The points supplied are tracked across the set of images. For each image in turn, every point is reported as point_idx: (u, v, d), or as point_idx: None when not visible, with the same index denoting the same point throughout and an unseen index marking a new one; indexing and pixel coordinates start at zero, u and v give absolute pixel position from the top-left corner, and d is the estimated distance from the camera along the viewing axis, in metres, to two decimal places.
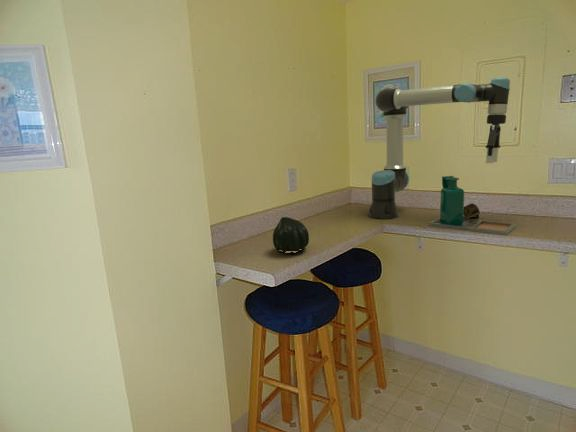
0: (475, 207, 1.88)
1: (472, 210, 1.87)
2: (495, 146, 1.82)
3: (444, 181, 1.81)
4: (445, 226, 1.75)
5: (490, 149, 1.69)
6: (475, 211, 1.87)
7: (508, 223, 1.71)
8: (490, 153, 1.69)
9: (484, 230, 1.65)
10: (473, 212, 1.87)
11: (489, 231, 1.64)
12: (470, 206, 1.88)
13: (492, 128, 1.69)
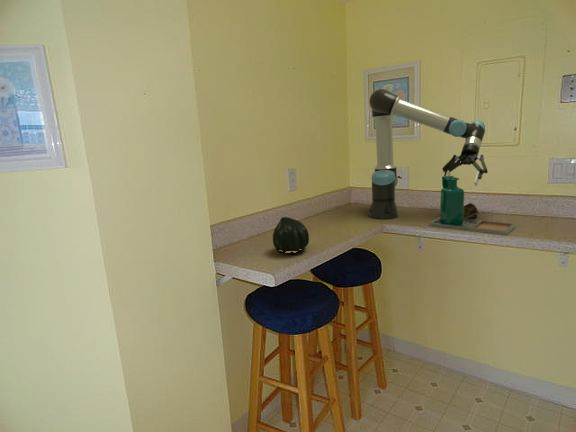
0: (473, 207, 1.88)
1: (471, 210, 1.87)
2: (448, 171, 1.90)
3: (444, 181, 1.81)
4: (445, 226, 1.75)
5: (482, 173, 1.80)
6: (473, 211, 1.88)
7: (508, 223, 1.71)
8: (481, 177, 1.79)
9: (484, 230, 1.65)
10: (472, 212, 1.87)
11: (489, 231, 1.64)
12: (468, 206, 1.88)
13: (483, 158, 1.83)
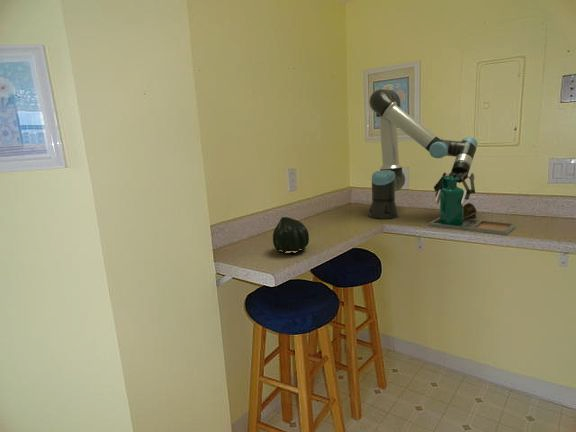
0: (472, 207, 1.88)
1: (469, 210, 1.88)
2: (440, 190, 1.84)
3: (444, 181, 1.81)
4: (445, 226, 1.75)
5: (469, 194, 1.75)
6: (472, 211, 1.88)
7: (508, 223, 1.71)
8: (468, 197, 1.74)
9: (484, 230, 1.65)
10: (470, 212, 1.88)
11: (489, 231, 1.64)
12: (467, 206, 1.89)
13: (473, 177, 1.78)
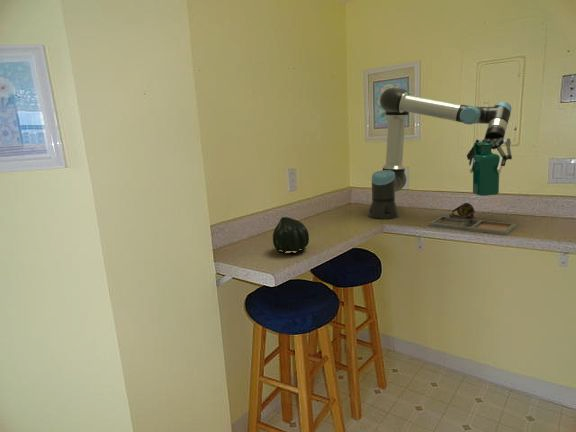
0: (470, 206, 1.89)
1: (468, 209, 1.89)
2: None
3: (476, 148, 1.69)
4: (445, 226, 1.75)
5: (505, 160, 1.62)
6: (470, 210, 1.89)
7: (508, 223, 1.71)
8: None
9: (484, 230, 1.65)
10: (469, 211, 1.89)
11: (489, 231, 1.64)
12: (465, 205, 1.90)
13: (509, 142, 1.66)
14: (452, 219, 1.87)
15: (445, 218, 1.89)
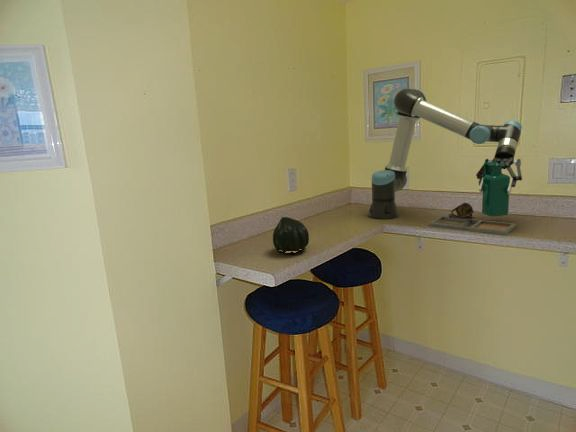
0: (469, 206, 1.90)
1: (467, 209, 1.89)
2: None
3: (486, 167, 1.68)
4: (445, 226, 1.75)
5: None
6: (469, 210, 1.90)
7: (508, 223, 1.71)
8: (515, 184, 1.61)
9: (484, 230, 1.65)
10: (468, 211, 1.89)
11: (489, 231, 1.64)
12: (464, 205, 1.90)
13: (520, 163, 1.65)
14: (452, 219, 1.87)
15: (445, 218, 1.89)
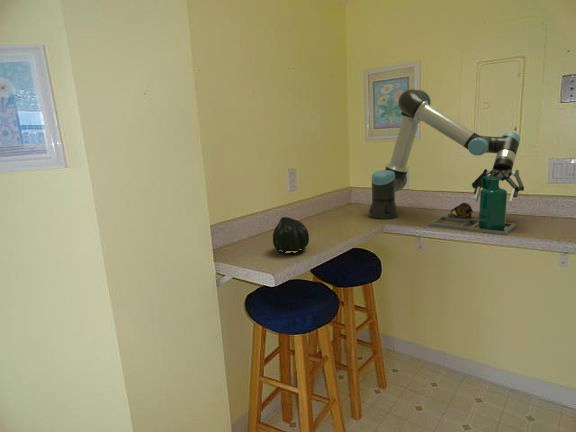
0: (468, 206, 1.90)
1: (466, 209, 1.89)
2: (478, 187, 1.73)
3: (484, 181, 1.70)
4: (445, 226, 1.75)
5: (518, 191, 1.62)
6: (469, 210, 1.90)
7: (508, 223, 1.71)
8: None
9: (484, 230, 1.65)
10: (467, 211, 1.89)
11: (489, 231, 1.64)
12: (464, 205, 1.90)
13: (518, 173, 1.66)
14: (452, 219, 1.87)
15: (445, 218, 1.89)
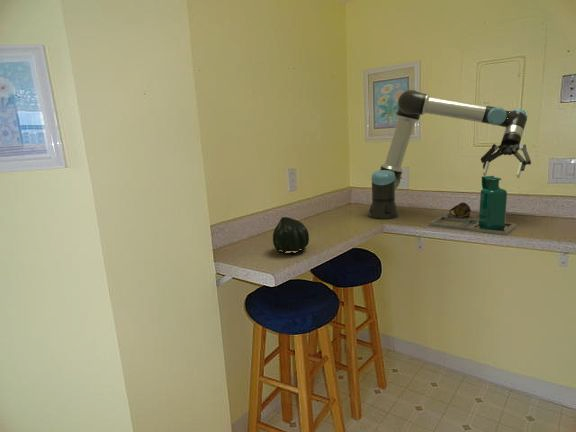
0: (467, 206, 1.91)
1: (465, 209, 1.90)
2: None
3: (484, 181, 1.70)
4: (445, 226, 1.75)
5: (525, 165, 1.70)
6: (467, 210, 1.91)
7: (508, 223, 1.71)
8: (524, 168, 1.69)
9: (484, 230, 1.65)
10: (466, 211, 1.90)
11: (489, 231, 1.64)
12: (462, 205, 1.91)
13: (526, 148, 1.73)
14: (452, 219, 1.87)
15: (445, 218, 1.89)
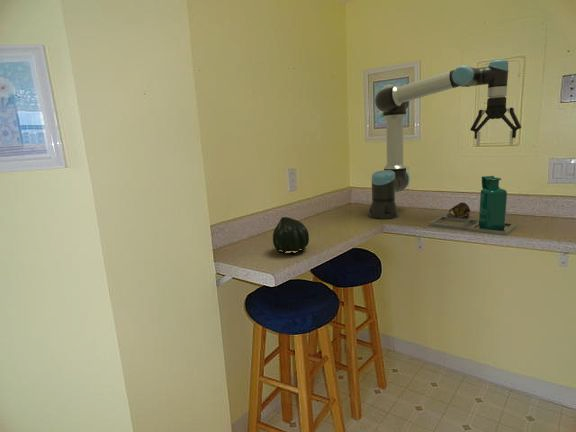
0: (466, 206, 1.91)
1: (464, 209, 1.90)
2: (477, 130, 1.79)
3: (484, 181, 1.70)
4: (445, 226, 1.75)
5: (515, 131, 1.70)
6: (467, 210, 1.91)
7: (508, 223, 1.71)
8: (515, 135, 1.70)
9: (484, 230, 1.65)
10: (465, 211, 1.90)
11: (489, 231, 1.64)
12: (462, 205, 1.91)
13: (513, 110, 1.68)
14: (452, 219, 1.87)
15: (445, 218, 1.89)
